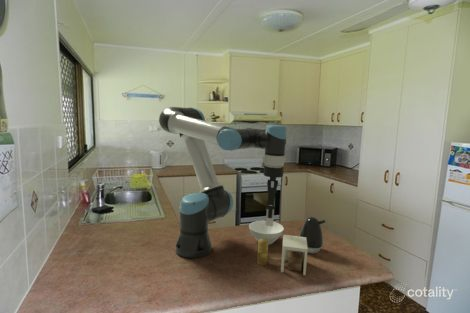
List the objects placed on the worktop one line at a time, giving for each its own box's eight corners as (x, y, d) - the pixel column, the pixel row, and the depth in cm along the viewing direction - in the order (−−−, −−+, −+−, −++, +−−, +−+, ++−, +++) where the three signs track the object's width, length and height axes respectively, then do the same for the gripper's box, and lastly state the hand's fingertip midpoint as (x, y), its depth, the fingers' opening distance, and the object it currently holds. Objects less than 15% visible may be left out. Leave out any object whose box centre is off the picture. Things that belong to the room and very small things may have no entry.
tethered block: (256, 265, 109) (257, 243, 108) (257, 258, 114) (258, 237, 113) (301, 271, 106) (302, 248, 105) (300, 264, 111) (302, 243, 110)
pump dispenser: (324, 257, 117) (327, 222, 115) (298, 254, 119) (301, 220, 117) (321, 247, 127) (324, 214, 125) (298, 244, 129) (300, 212, 127)
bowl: (260, 251, 120) (261, 236, 119) (242, 237, 134) (242, 223, 133) (290, 245, 128) (291, 230, 127) (269, 232, 142) (270, 218, 141)
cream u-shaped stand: (280, 271, 105) (282, 246, 104) (281, 258, 115) (283, 234, 114) (305, 275, 104) (307, 249, 102) (304, 261, 114) (306, 237, 112)
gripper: (284, 173, 95) (279, 232, 98) (283, 161, 119) (279, 209, 123) (262, 171, 96) (257, 230, 99) (265, 160, 121) (262, 207, 124)
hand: (269, 219), depth 111 cm, fingers open, 13 cm apart
